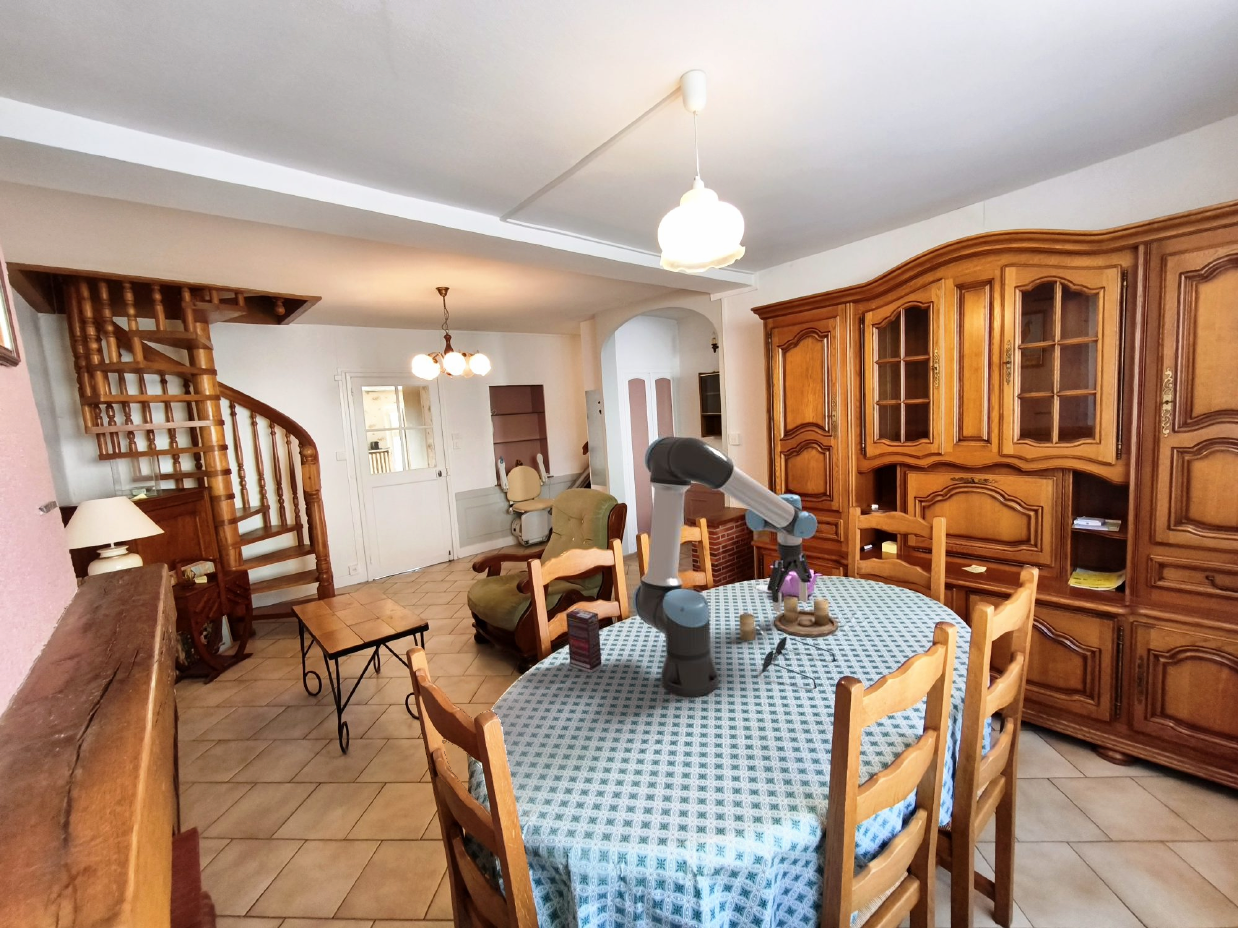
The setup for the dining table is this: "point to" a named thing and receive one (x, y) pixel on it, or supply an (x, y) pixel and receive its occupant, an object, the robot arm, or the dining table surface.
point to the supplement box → (584, 640)
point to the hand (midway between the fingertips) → (790, 606)
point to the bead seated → (821, 612)
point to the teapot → (796, 584)
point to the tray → (806, 625)
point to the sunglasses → (778, 651)
